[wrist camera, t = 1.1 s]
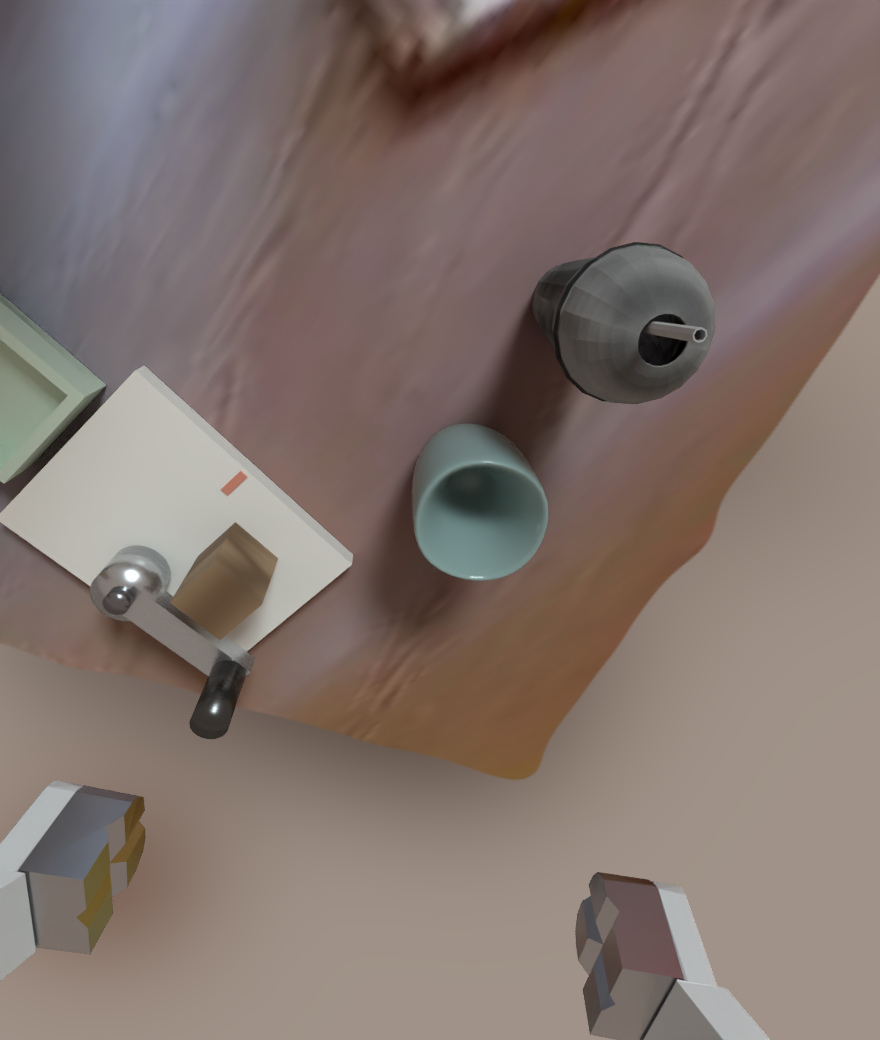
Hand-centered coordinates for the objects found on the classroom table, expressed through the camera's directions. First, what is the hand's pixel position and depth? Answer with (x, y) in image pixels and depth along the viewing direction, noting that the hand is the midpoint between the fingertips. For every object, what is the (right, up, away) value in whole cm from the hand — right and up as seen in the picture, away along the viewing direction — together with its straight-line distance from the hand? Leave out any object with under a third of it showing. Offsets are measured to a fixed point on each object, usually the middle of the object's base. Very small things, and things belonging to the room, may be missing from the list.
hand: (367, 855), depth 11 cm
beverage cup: (+9, +20, +28) cm, 36 cm away
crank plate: (-17, +5, +33) cm, 38 cm away
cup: (+3, +10, +32) cm, 34 cm away
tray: (-26, +15, +28) cm, 41 cm away
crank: (-17, 0, +33) cm, 38 cm away
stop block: (-13, +3, +32) cm, 35 cm away
